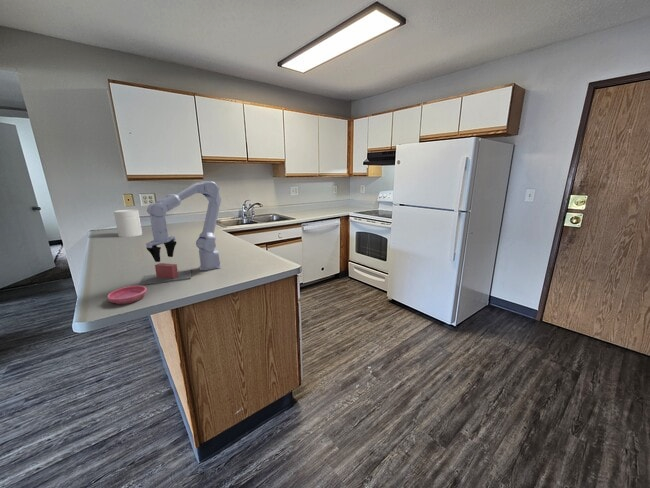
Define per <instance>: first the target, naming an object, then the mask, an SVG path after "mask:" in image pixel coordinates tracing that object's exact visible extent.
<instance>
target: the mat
mask: <svg viewBox="0 0 650 488" xmlns="http://www.w3.org/2000/svg"><path fill="white" fill-rule="evenodd" d="M191 276H192V270H191V269H188V270H181V271H179V270H178V277H176V278H174V279H170V278H158V277H157V276H156V273H155V274H148V275H143V277H142V279H141V280H140V282H139V284H138V285H140V286H149V285H156V284H164V283H170V282H177V281H185V280H190V279H191Z"/></svg>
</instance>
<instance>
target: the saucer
mask: <svg viewBox="0 0 650 488" xmlns="http://www.w3.org/2000/svg"><path fill="white" fill-rule="evenodd" d="M147 291H148V288H147V287H146V285H142V286H140V285H139V284H138V285H137V284H136V285H129V286H125V287H120V288H117V289H115V290H113V291H111V292H109V293H108V294H107V296H106V298H107V300H108V301H109V302H111V303H113V304H115V303H116V305H126V304H125V303H127V304H131V303H130V302H132V303H135V302H137V301H139V299H140V300H142V298H144V296H145V295H146V293H147ZM134 301H135V302H134Z"/></svg>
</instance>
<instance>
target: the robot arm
mask: <svg viewBox="0 0 650 488" xmlns="http://www.w3.org/2000/svg"><path fill="white" fill-rule="evenodd" d="M196 194H201V195H203V197H205V198H206V200H207V201H208V204H207V205H208V206H207V210H206V213H205V219H204V223H203V229H202V231H201V232H200V234H199V236H198V238H197V239H196V241H195V245H196V247H197V248H198V254H199V255H198V256H199V264H200V265H199V271H207V270H214V269H220V268H221V260H220V253H219V250H218V249H216V248H217V247H216V246H217V244H216V235H215V229H216V225H217V220H218V216H219V211H220V207H221V204H222V203H221V202H222V198H221V195H220V187H219V185H218V184H217V183H216V182H215V181H212V180H210V181H206V180H201V181H199V182H196V183H194V184H192V185H190V186H188V187H187V188H185V189H183V190H182V191H180V192H178V193H177V194H174V193H171V194H170V193H168V194H166V195H165V197H163V198H161V199H157V200H156V202H152V203H149V204H148V206H147V209H146V212H147V214H148V215H149V217H150V226H151V232H152V239H153V240H151V241H149V242H146V243H145V246H146V250H147V251H148V252H149V253H150V255H151V257H152V258H153V260H154V262H155V263H161V248H162V247H161V245H164V247H165V249H166V254H167V257H168V258H173V257H174V253H175V248H176V245H177V241H176V236H174V235H173V236H172V235H171V236H169V233H168V225H167V221H166V214H167V213H168V212H169V211H171V210H173V209H175V208H176V207H179V206H180V205H181V202H182V201H184V200H186V199H187V198H189V197H192V196H194V195H196Z"/></svg>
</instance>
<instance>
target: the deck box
mask: <svg viewBox="0 0 650 488" xmlns="http://www.w3.org/2000/svg"><path fill="white" fill-rule="evenodd" d="M154 269H155V274H156V276H157V277H158V278H170V279H174V278H176V277H178V271H179V270H178V264H177V263H176V264H175V263H166V262H165V263H161V262H158V263H157V264H155V265H154Z"/></svg>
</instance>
